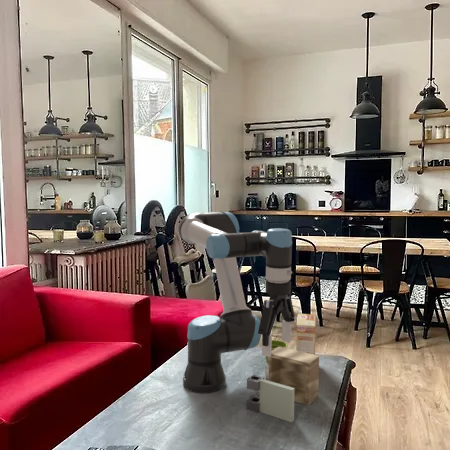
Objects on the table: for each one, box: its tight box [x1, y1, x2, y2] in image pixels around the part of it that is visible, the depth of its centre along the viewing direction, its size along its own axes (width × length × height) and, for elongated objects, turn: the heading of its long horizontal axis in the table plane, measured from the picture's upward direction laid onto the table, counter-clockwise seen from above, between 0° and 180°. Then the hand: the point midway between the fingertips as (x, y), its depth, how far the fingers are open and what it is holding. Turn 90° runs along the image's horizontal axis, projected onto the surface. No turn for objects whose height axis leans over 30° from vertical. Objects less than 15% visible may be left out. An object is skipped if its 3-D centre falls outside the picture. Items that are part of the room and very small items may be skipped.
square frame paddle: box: [246, 374, 295, 423], centre depth 139 cm, size 15×4×10 cm, turn 55°
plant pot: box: [265, 339, 288, 364], centre depth 176 cm, size 9×9×9 cm
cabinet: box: [257, 347, 320, 406], centre depth 149 cm, size 15×14×14 cm
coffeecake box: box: [295, 313, 317, 355], centre depth 172 cm, size 15×7×20 cm, turn 168°
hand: (276, 348), depth 138 cm, fingers open, 13 cm apart
